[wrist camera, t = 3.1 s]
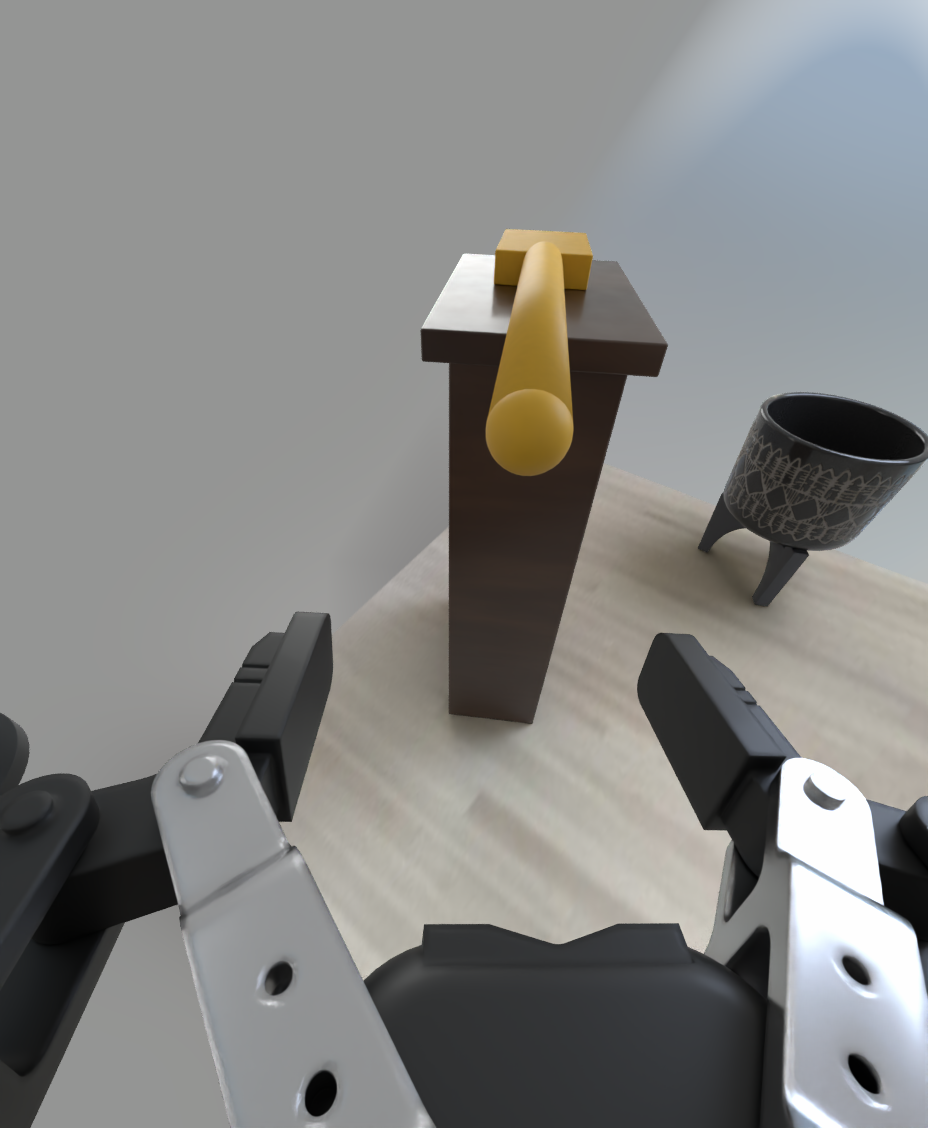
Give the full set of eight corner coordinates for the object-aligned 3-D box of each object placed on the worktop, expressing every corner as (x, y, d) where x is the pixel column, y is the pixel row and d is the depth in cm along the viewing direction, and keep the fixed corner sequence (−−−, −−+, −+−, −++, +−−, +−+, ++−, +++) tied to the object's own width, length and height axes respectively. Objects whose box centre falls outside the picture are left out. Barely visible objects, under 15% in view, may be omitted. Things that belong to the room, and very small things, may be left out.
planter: (670, 569, 51) (740, 422, 39) (713, 518, 58) (784, 380, 46) (794, 633, 45) (925, 482, 33) (825, 567, 52) (943, 422, 40)
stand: (456, 594, 48) (463, 253, 27) (542, 602, 47) (617, 261, 26) (435, 718, 38) (419, 328, 17) (544, 731, 37) (669, 344, 16)
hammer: (503, 259, 26) (506, 219, 25) (581, 263, 26) (588, 223, 24) (417, 482, 10) (412, 399, 8) (630, 503, 9) (659, 420, 8)
